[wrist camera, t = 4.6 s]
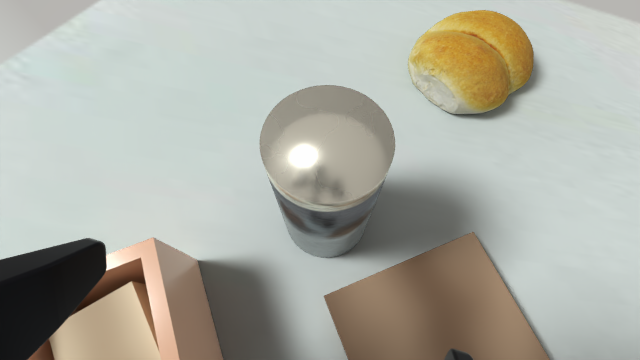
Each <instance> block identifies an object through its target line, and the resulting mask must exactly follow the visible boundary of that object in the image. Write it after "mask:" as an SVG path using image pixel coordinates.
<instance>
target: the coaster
mask: <svg viewBox="0 0 640 360" xmlns="http://www.w3.org/2000/svg"><path fill="white" fill-rule="evenodd" d="M324 298H325V301H326V303H327V306H328V309H329V311H330V314H331V316H332V319H333V321H334V324H335V327H336V329H337V332H338V334H339V337H340V339H341V342H342V345H343V347H344V350H345V352H346V355H347V357H348V360H444V359H445V357H446V355H447V353H448V351H449V350H450V349H457V350H460V351H463V352H467V353H468V354H470V355H471V357H472V358H473V359H474V360H550V359H549V358H548V356H547V354H546V353H545V351H544V349H543V347H542V346H541V344H540V342H539V341H538V339H537V337H536V336H535V334H534V332H533V331H532V329H531V327H530V326H529V324H528V322H527V321H526V319H525V317H524V316H523V314H522V312H521V311H520V309H519V307H518V306H517V304H516V302H515V301H514V299H513V297H512V296H511V294H510V292H509V291H508V289H507V287H506V286H505V284H504V282H503V281H502V279H501V277H500V276H499V274H498V272H497V270H496V269H495V267H494V265H493V264H492V262H491V260H490V259H489V257H488V255H487V254H486V252H485V250H484V249H483V247H482V245H481V244H480V242H479V240H478V239H477V237H476V235H475V234H474V232H472V233H469V234H467V235H465V236H462V237H460V238H458V239H455V240H453V241H451V242H448V243H446V244H444V245H441V246H439V247H437V248H434V249H432V250H430V251H427V252H425V253H423V254H420V255H418V256H416V257H413V258H411V259H409V260H406V261H404V262H402V263H399V264H397V265H395V266H392V267H390V268H388V269H385V270H383V271H381V272H378V273H376V274H374V275H371V276H369V277H367V278H364V279H362V280H360V281H357V282H355V283H353V284H351V285H348V286H346V287H344V288H341V289H339V290H337V291H334V292H332V293H330V294H327V295H325V296H324Z"/></svg>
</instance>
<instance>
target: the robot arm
mask: <svg viewBox="0 0 640 360" xmlns="http://www.w3.org/2000/svg"><path fill="white" fill-rule="evenodd" d="M106 269H107V261H106V247H105V245H104V243H103V242H101V241H98V240H94V239H91V238H86V239H82V240H78V241H74V242H70V243H66V244H62V245H58V246H54V247H50V248H46V249H42V250H38V251H34V252H30V253H26V254H22V255H18V256H14V257H10V258H6V259H2V260H0V360H28V359H29V358H30V357H31V356H32V355H33V354H34V353H35V352H36V351H37V350H38V349H39V348H40V347H41V346H42V345H43V344H44V343H45V342H46V341H47V340H48V339H49V338H50V337H51V336H52V335H53V334H54V333H55V332H56V331H57V330H58V329H59V328H60V327H61V325H62V324H63V323H64V322H65V321H66V320H67V319H68V318H69V316H70V315H71V314H72V313H73V312H74V310H75V309H76V308H77V307H78V306H79V305H80V303H81V302H82V301H83V300H84V299H85V297H86V296H87V295H88V294H89V293H90V292H91V290H92V289H93V288H94V287H95V286H96V284H97V283H98V282H99V281H100V280H101V279H102V277H103V276H104V274H105V272H106ZM444 360H474V359H473V358H472V357H471V355H470V354H468V353H467V352H463V351H460V350H457V349H450V350H449V351H448V353H447V355H446V357H445V359H444Z"/></svg>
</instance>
